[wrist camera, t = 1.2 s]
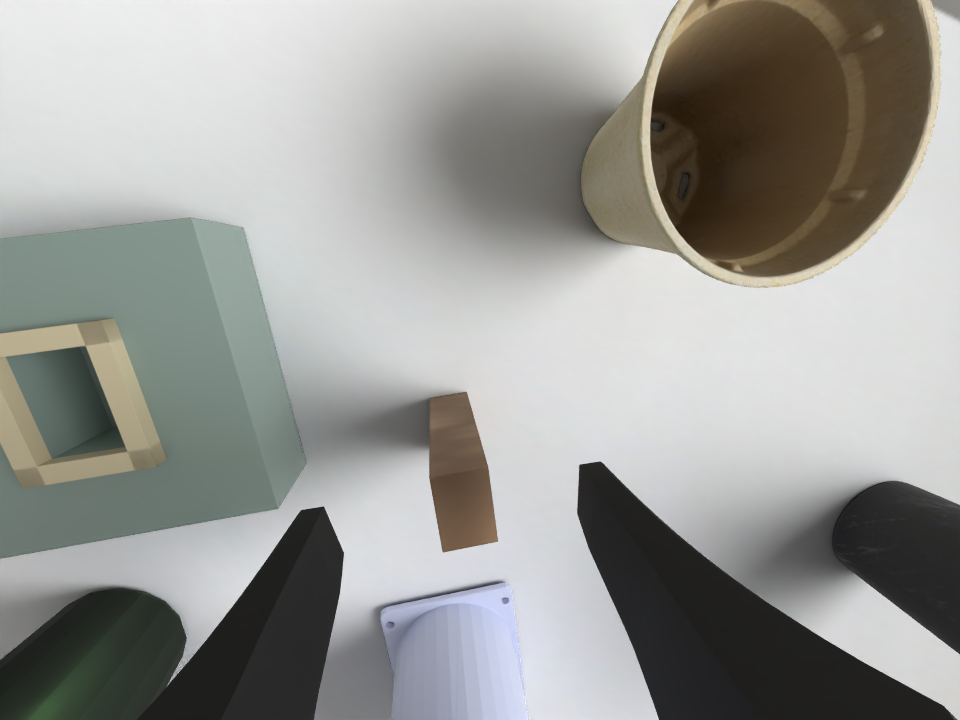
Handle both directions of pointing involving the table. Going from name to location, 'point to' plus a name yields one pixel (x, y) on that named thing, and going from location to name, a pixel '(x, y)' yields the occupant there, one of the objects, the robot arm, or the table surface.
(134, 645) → the potion bottle
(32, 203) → the table surface
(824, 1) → the flower pot
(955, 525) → the travel mug
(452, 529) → the brown wooden block
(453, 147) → the table surface
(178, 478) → the sage green square pedestal
